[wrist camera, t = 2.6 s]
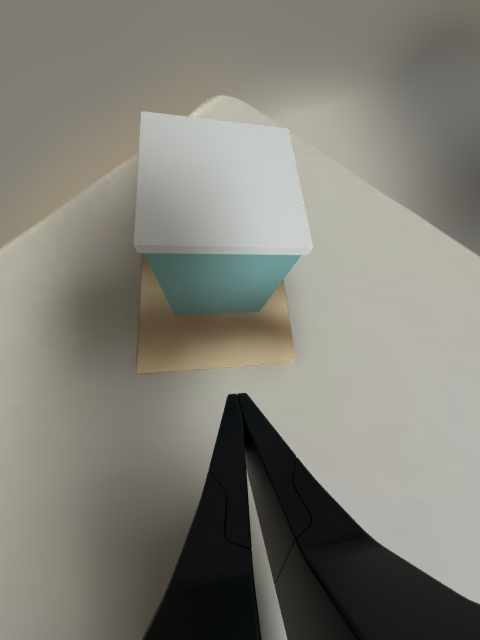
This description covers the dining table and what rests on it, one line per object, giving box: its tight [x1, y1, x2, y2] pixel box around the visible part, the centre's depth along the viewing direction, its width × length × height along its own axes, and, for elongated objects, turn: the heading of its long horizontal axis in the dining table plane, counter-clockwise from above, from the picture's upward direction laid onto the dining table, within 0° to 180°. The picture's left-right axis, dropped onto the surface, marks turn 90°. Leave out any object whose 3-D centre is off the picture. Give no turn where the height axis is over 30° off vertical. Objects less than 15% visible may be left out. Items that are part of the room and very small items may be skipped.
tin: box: [133, 112, 313, 315], centre depth 16 cm, size 8×8×11 cm
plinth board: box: [137, 253, 296, 374], centre depth 20 cm, size 20×14×3 cm
